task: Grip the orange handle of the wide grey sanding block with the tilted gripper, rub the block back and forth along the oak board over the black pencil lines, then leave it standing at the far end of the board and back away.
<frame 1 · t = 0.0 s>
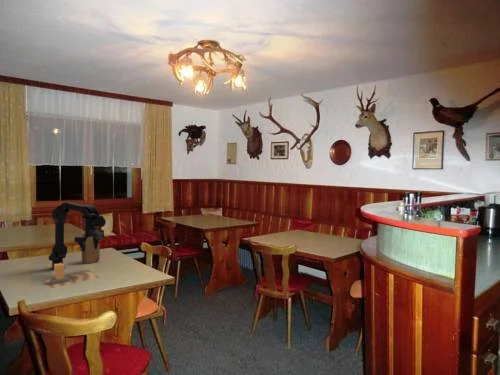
hand: (90, 250, 220), 15 cm above the table, tool pointing down, fingers open, 9 cm apart
sanding block: (59, 281, 203), point 1 cm above the table, touching board
block: (90, 262, 247), on the table
board: (72, 280, 208), on the table
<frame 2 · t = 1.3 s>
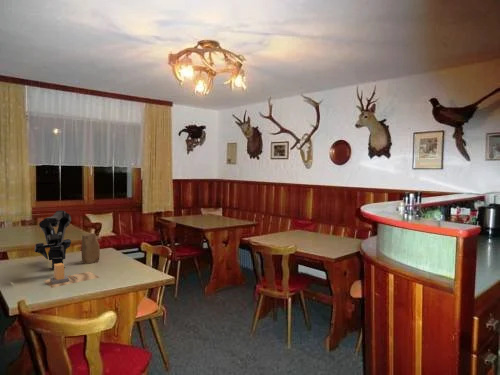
hand: (56, 257, 208), 13 cm above the table, tool tilted 45°, fingers open, 9 cm apart
nothing on the table moved.
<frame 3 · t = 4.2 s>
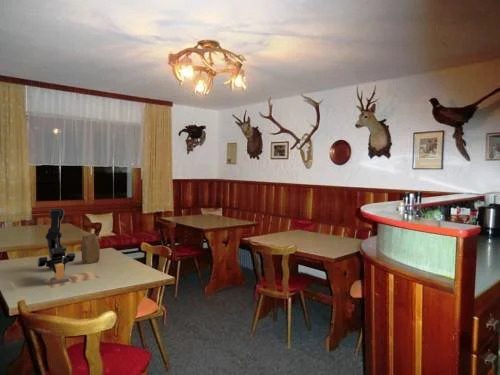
hand: (59, 272, 201), 7 cm above the table, tool tilted 45°, fingers closed on sanding block, 4 cm apart
sanding block: (59, 281, 203), point 1 cm above the table, touching board, gripper
everything else where it was.
when the fingers open (7 cm above the table, at t = 19.3 s): sanding block stays where it is, resting on board.
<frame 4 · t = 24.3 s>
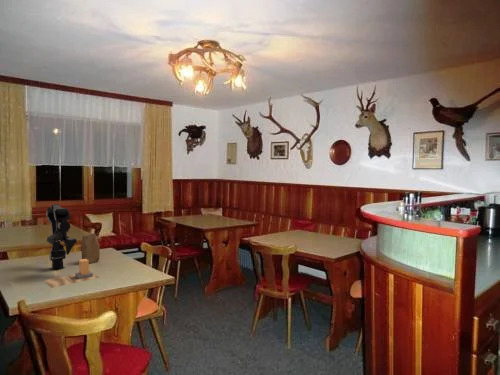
hand: (62, 253, 218), 13 cm above the table, tool pointing down, fingers open, 9 cm apart
sanding block: (84, 276, 212), point 1 cm above the table, touching board
everything else where it was.
at the end: sanding block inside the target area on the board (0.3 cm from its centre), point 1.0 cm above the board's base; sanding block tilted 0°; the gripper is holding nothing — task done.
